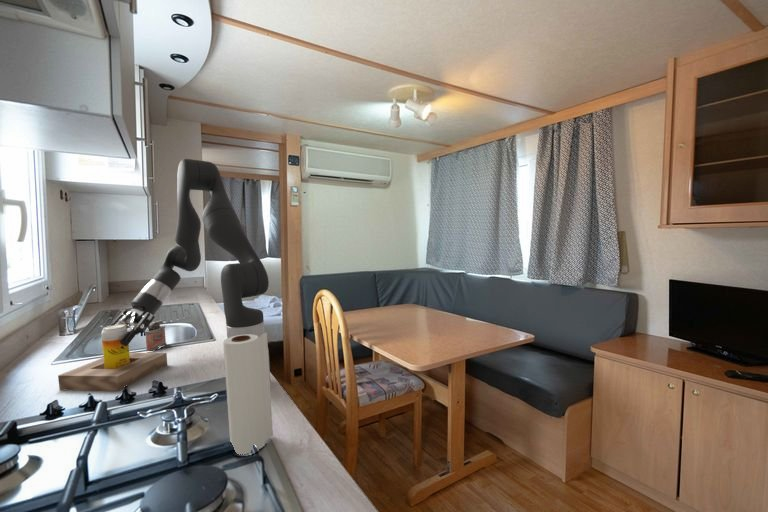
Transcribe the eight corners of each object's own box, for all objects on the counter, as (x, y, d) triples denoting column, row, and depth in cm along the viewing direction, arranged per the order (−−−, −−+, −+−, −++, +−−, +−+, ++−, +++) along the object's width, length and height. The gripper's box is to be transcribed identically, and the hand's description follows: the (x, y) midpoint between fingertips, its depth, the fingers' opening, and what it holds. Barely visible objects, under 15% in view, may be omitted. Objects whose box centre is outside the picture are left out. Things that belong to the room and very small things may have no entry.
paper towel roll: (227, 460, 63) (219, 344, 61) (234, 441, 69) (227, 334, 67) (268, 454, 64) (261, 340, 63) (273, 436, 70) (266, 331, 68)
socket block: (167, 365, 112) (166, 353, 111) (118, 390, 94) (117, 376, 94) (116, 364, 114) (115, 352, 113) (59, 389, 96) (58, 375, 96)
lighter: (151, 352, 125) (149, 324, 125) (143, 352, 126) (141, 324, 125) (169, 345, 133) (167, 319, 133) (161, 344, 134) (159, 319, 133)
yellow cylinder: (120, 380, 101) (116, 329, 100) (100, 380, 101) (95, 330, 100) (136, 372, 107) (131, 323, 106) (116, 372, 107) (112, 324, 106)
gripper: (129, 289, 113) (90, 334, 104) (156, 291, 107) (117, 339, 97) (148, 302, 118) (112, 346, 109) (174, 305, 112) (139, 351, 102)
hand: (114, 342), depth 103 cm, fingers open, 8 cm apart
